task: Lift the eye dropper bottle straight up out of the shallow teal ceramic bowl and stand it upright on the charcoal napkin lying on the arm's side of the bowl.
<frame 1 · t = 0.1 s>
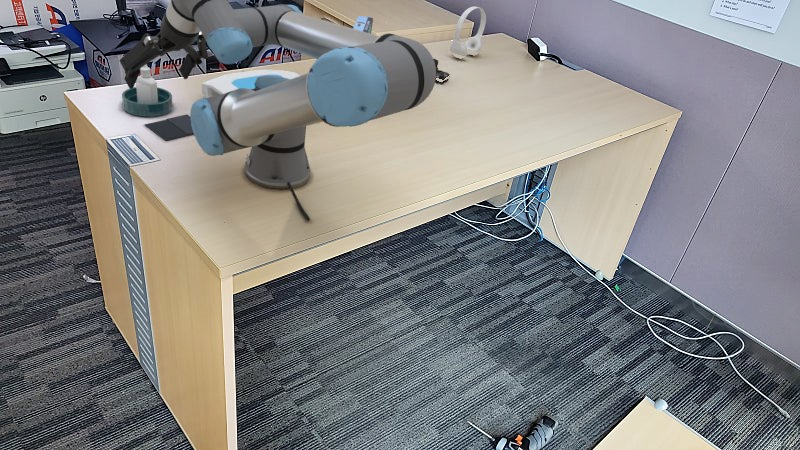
hand: (156, 78, 140), 15 cm above the table, tool tilted 35°, fingers open, 13 cm apart
headphones: (464, 57, 245), on the table
blue cardboard box: (353, 97, 191), on the table
bowl: (148, 107, 161), on the table
napkin: (176, 128, 155), on the table
film camera: (429, 78, 218), on the table
eye dropper bottle: (148, 107, 161), resting on bowl
document scanner: (263, 105, 175), on the table
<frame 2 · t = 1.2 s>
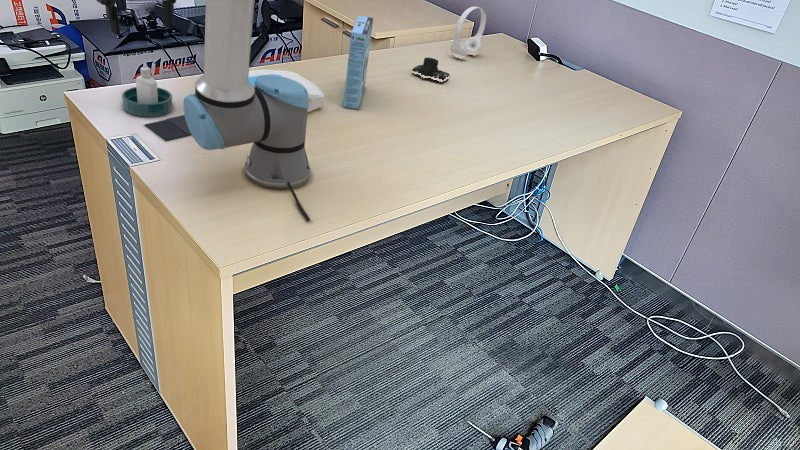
hand: (142, 30, 150), 21 cm above the table, tool pointing down, fingers open, 13 cm apart
nothing on the table moved.
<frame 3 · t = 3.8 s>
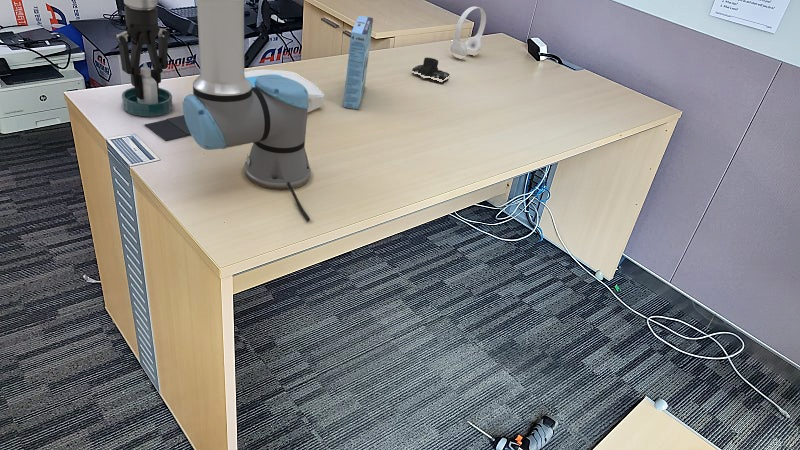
hand: (147, 95, 160), 3 cm above the table, tool pointing down, fingers closed on eye dropper bottle, 4 cm apart
eye dropper bottle: (148, 107, 161), resting on bowl, touching gripper
everything else where it was.
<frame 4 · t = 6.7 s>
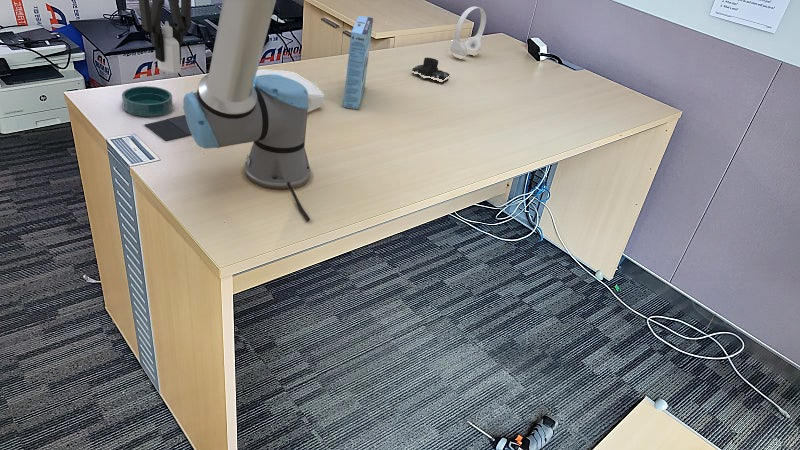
hand: (168, 58, 146), 18 cm above the table, tool pointing down, fingers closed on eye dropper bottle, 4 cm apart
eye dropper bottle: (169, 71, 148), point 14 cm above the table, touching gripper
everything else where it was.
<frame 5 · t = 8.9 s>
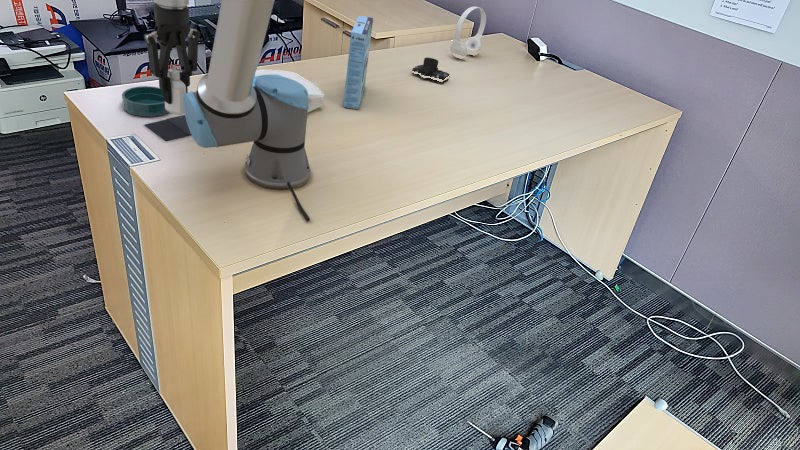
hand: (175, 100, 150), 8 cm above the table, tool pointing down, fingers closed on eye dropper bottle, 4 cm apart
eye dropper bottle: (176, 112, 152), point 4 cm above the table, touching gripper
everything else where it was.
when the fingers open (4 cm above the table, at t = 10.1 s): eye dropper bottle stays where it is, resting on napkin.
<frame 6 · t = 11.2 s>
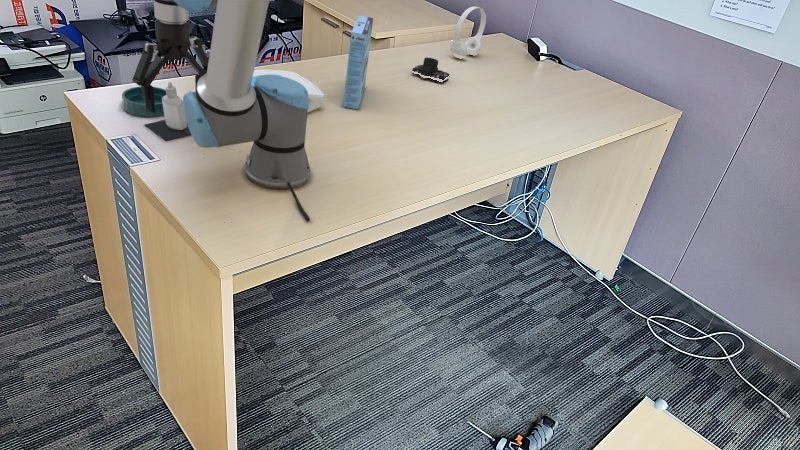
hand: (176, 105, 151), 6 cm above the table, tool pointing down, fingers open, 13 cm apart
eye dropper bottle: (176, 126, 154), resting on napkin
everything else where it was.
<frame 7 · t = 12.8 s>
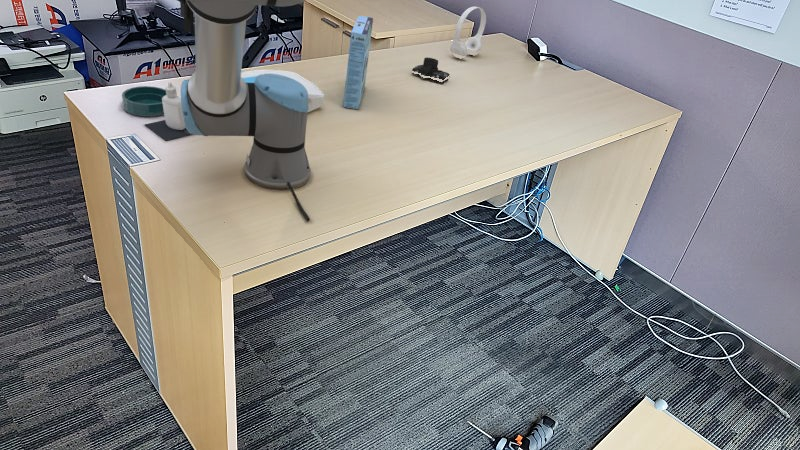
hand: (213, 28, 144), 26 cm above the table, tool pointing down, fingers open, 13 cm apart
nothing on the table moved.
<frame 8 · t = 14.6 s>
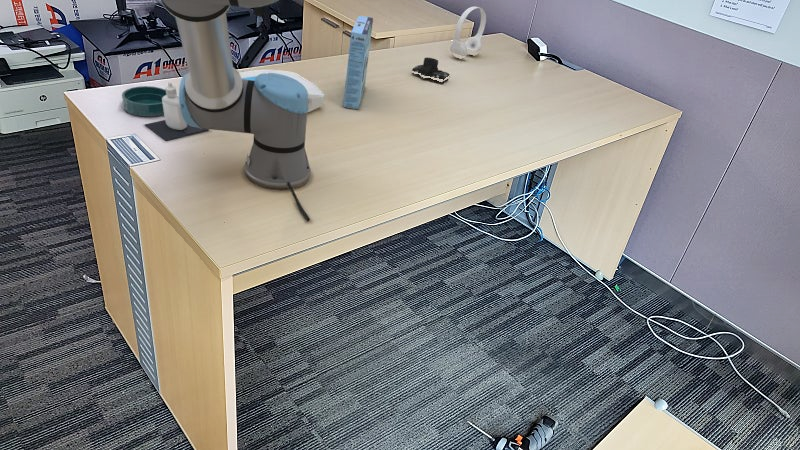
hand: (235, 17, 145), 29 cm above the table, tool pointing down, fingers open, 13 cm apart
nothing on the table moved.
at the end: eye dropper bottle inside the target area on the napkin (0.1 cm from its centre), point 0.3 cm above the napkin's base; eye dropper bottle tilted 6°; eye dropper bottle touching napkin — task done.
